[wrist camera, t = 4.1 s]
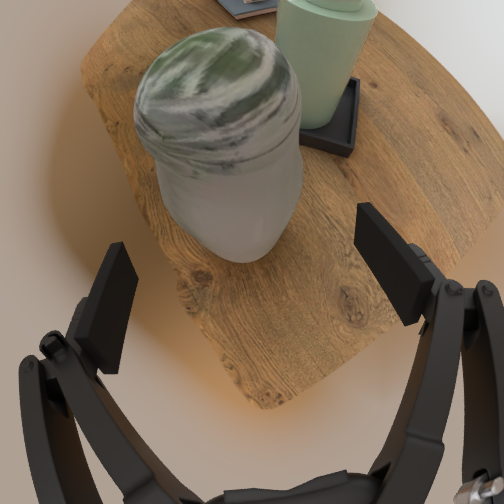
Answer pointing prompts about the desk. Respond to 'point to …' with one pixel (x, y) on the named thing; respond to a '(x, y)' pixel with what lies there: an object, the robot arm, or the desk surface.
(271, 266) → the desk surface
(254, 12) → the woven storage basket
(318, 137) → the tray
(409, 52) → the desk surface
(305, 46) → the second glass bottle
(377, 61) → the desk surface
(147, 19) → the desk surface
